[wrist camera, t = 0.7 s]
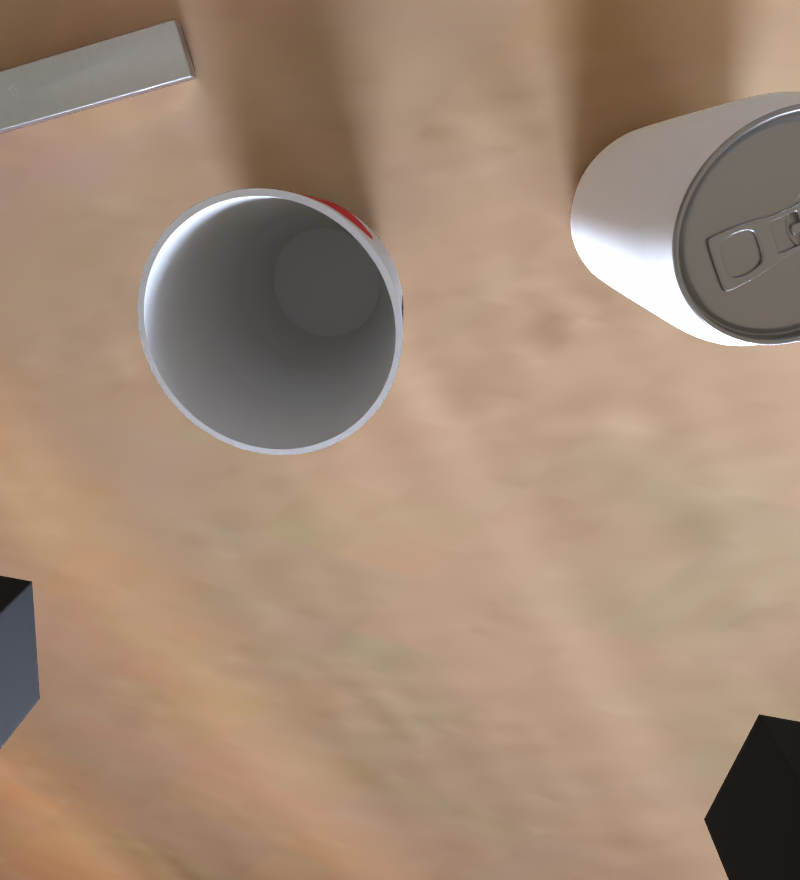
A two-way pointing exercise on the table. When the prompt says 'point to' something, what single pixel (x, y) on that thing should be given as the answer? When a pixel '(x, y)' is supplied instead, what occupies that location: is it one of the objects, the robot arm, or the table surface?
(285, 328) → the cup
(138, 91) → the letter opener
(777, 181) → the can
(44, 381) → the table surface
